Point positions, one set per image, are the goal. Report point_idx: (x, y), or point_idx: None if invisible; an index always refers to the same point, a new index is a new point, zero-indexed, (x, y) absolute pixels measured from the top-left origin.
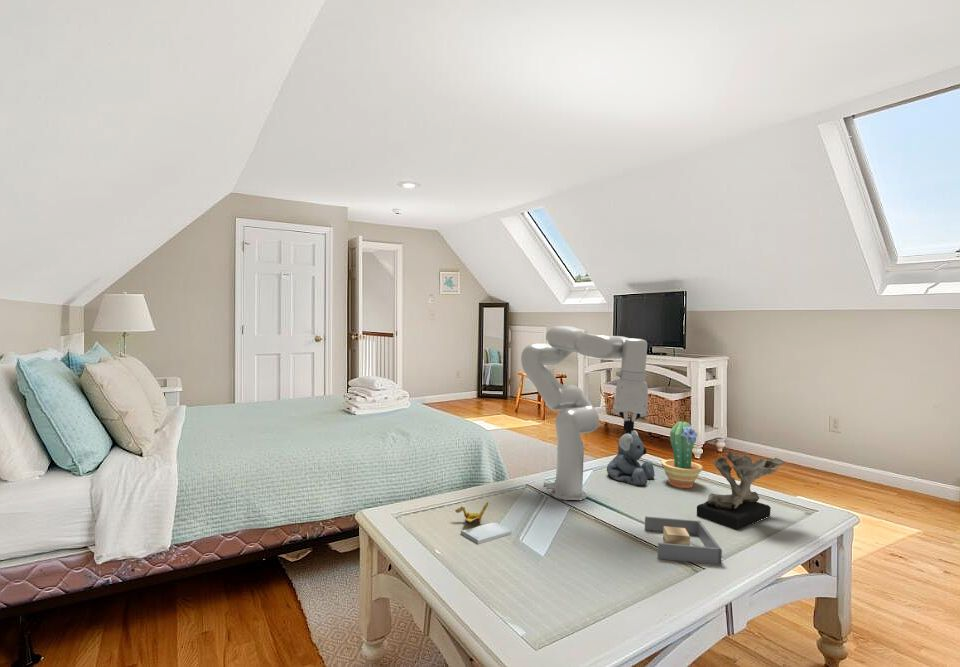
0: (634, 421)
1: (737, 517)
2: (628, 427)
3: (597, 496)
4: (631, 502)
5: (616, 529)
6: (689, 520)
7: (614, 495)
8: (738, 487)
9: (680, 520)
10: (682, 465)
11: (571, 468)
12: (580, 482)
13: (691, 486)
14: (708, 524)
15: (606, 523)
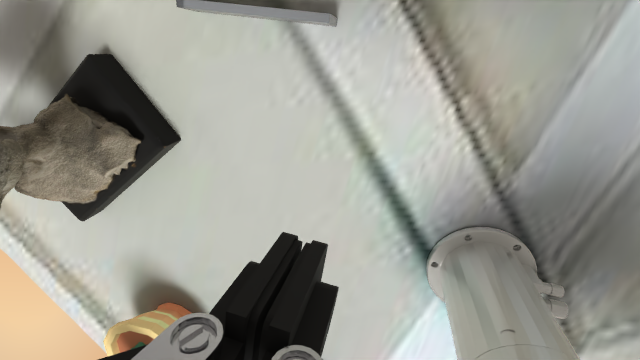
0: (192, 315)
1: (83, 61)
2: (293, 274)
3: (393, 261)
4: (314, 221)
5: (423, 13)
6: (204, 5)
7: (344, 266)
8: (16, 132)
9: (229, 3)
10: None
11: (520, 303)
12: (462, 274)
13: (158, 306)
14: (165, 85)
15: (438, 61)
